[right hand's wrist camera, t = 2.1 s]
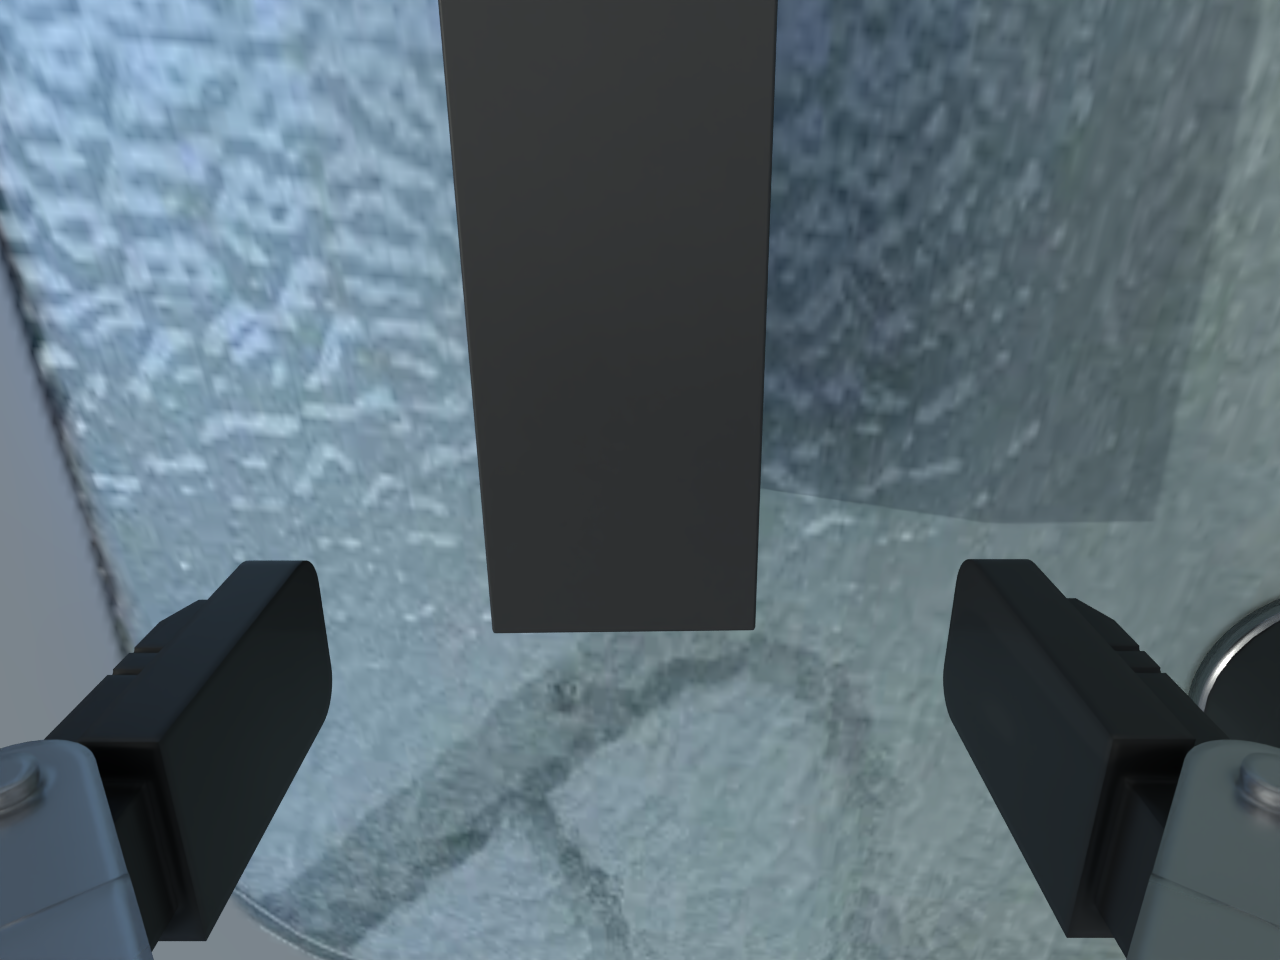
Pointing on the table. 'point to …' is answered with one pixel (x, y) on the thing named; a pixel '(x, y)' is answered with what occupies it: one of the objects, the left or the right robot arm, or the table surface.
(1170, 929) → the right robot arm
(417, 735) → the table surface
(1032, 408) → the table surface
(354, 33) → the table surface
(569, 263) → the box
